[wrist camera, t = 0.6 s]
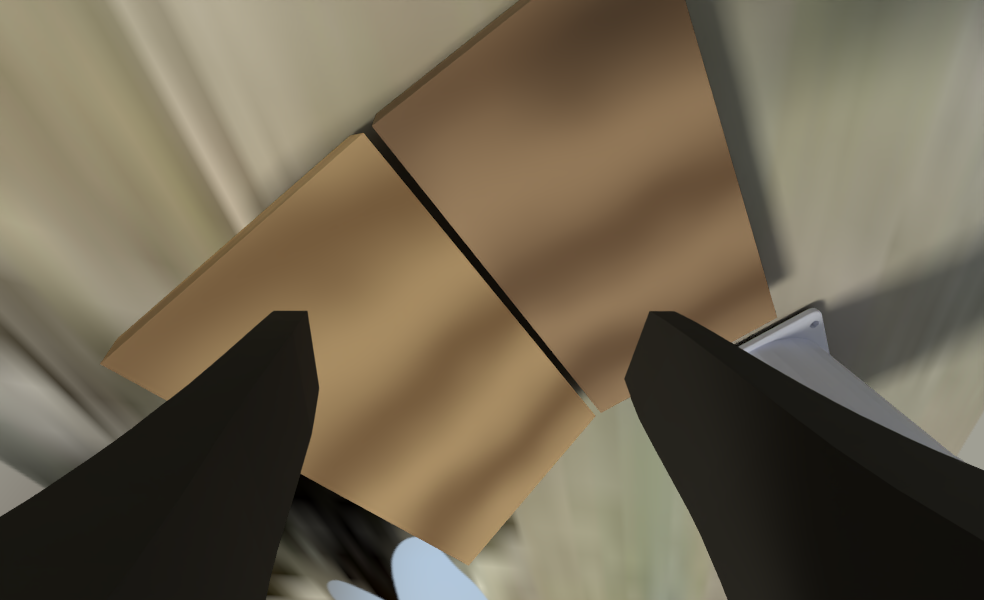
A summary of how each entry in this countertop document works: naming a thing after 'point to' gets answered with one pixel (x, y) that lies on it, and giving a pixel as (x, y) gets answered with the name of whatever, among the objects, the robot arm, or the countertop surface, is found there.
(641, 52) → the walnut plank
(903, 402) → the countertop surface
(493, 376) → the oak plank
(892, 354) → the countertop surface
